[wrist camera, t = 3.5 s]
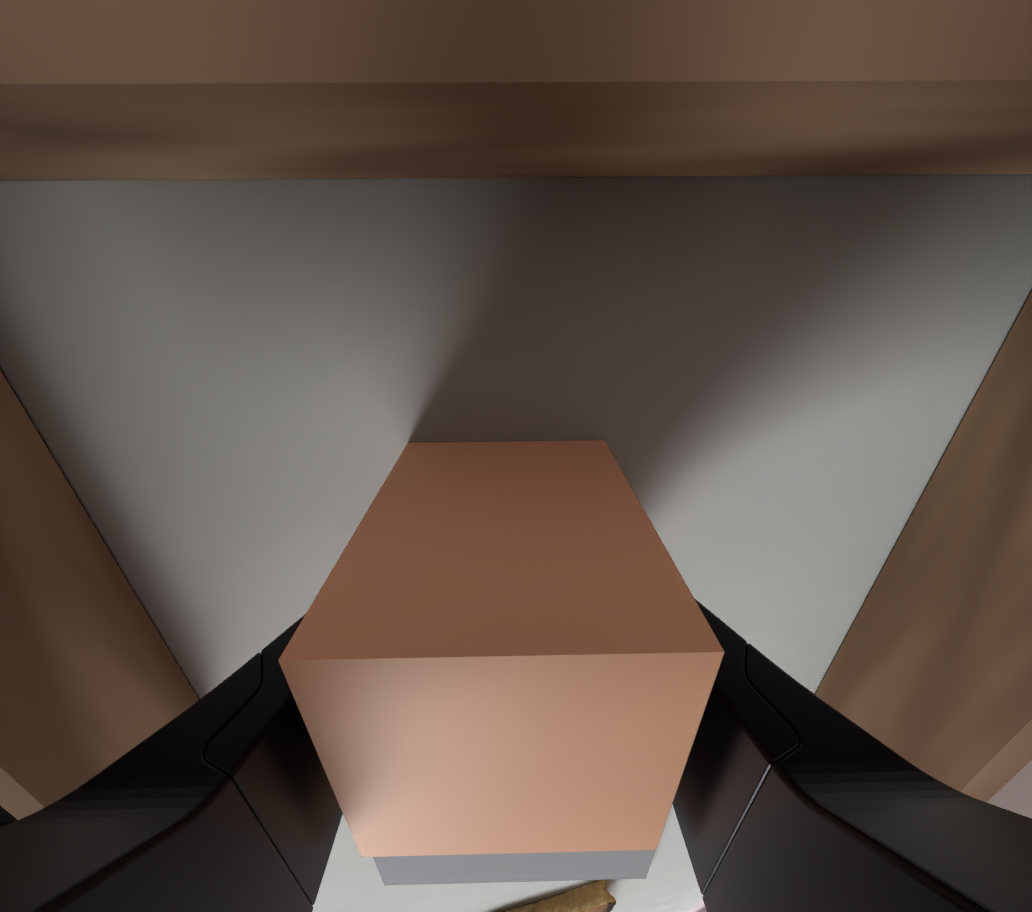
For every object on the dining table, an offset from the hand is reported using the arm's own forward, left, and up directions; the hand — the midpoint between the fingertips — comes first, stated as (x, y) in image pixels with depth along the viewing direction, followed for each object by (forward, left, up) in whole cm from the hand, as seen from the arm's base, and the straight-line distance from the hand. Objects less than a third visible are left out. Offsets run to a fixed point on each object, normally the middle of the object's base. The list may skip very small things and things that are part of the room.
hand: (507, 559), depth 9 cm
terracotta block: (0, 0, -2) cm, 2 cm away
